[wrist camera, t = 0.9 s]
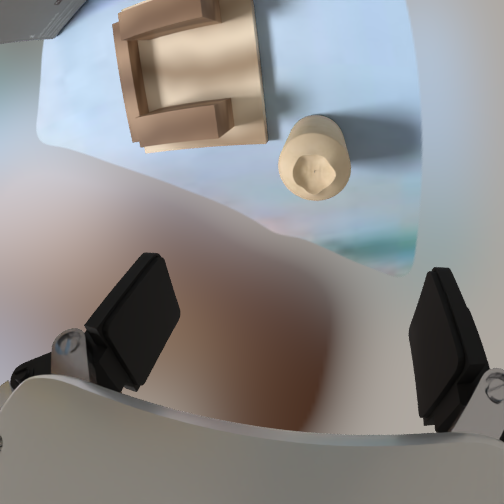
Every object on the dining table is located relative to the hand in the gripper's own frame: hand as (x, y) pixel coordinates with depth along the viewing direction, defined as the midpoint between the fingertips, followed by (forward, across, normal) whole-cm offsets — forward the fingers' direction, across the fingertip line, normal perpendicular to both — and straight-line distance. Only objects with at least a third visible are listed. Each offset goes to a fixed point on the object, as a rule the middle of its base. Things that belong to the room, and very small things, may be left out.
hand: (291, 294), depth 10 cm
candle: (+23, 0, 0) cm, 23 cm away
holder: (+22, +12, -9) cm, 27 cm away
